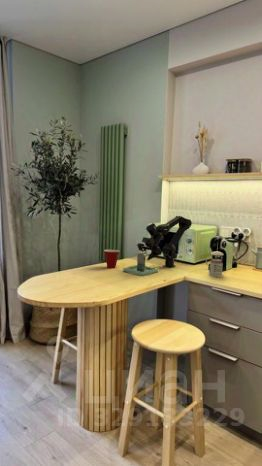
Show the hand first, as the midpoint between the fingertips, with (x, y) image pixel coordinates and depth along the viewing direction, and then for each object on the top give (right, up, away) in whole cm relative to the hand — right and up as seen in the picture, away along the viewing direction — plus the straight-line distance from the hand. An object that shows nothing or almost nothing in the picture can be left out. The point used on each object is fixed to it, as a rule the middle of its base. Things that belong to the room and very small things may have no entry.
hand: (142, 258), depth 208 cm
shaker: (-1, -8, 0) cm, 8 cm away
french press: (+46, -10, -1) cm, 47 cm away
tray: (-1, -8, 0) cm, 8 cm away
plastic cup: (-21, -7, +10) cm, 24 cm away
